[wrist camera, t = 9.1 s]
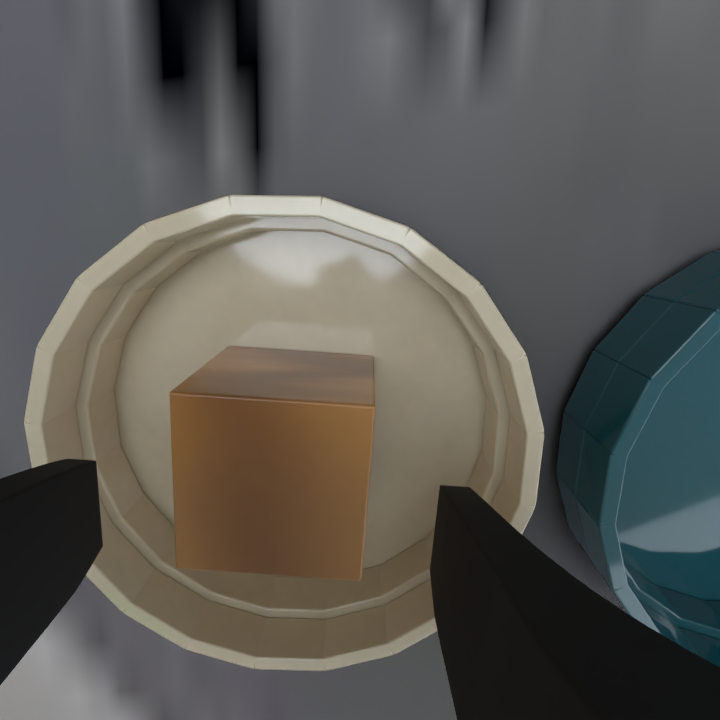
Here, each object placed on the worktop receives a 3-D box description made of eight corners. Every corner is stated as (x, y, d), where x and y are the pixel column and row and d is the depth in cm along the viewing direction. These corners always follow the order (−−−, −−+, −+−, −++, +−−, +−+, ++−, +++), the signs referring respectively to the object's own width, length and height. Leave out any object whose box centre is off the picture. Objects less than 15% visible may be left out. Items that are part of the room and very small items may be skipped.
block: (373, 354, 14) (375, 405, 10) (364, 486, 15) (362, 582, 11) (227, 344, 14) (167, 391, 10) (228, 477, 16) (174, 569, 11)
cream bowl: (572, 289, 14) (635, 307, 11) (419, 626, 17) (431, 720, 14) (149, 139, 13) (75, 108, 10) (70, 522, 17) (-7, 595, 13)
